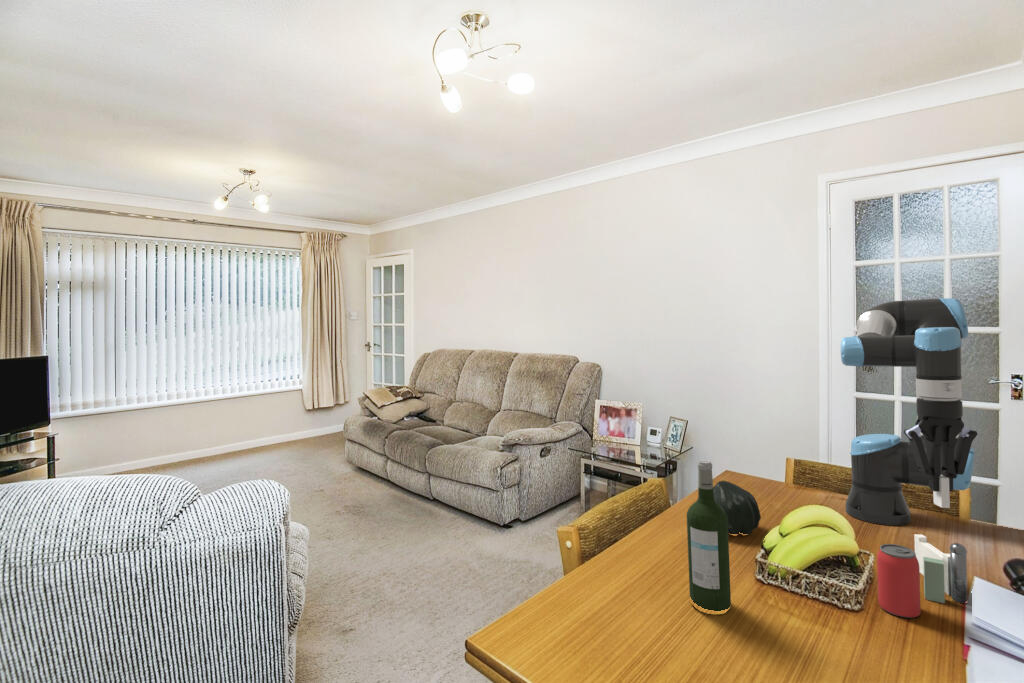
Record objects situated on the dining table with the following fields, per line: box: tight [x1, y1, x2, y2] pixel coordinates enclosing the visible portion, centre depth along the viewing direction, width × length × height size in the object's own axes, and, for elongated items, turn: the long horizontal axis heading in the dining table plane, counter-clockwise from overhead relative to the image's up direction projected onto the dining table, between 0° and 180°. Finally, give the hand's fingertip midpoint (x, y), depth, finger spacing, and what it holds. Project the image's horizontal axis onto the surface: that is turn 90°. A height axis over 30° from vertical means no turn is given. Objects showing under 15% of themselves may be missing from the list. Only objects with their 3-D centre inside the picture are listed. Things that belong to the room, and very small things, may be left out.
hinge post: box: [949, 542, 968, 605], centre depth 98 cm, size 3×3×12 cm
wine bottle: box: [686, 459, 732, 611], centre depth 100 cm, size 8×8×30 cm
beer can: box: [876, 543, 922, 619], centre depth 96 cm, size 7×7×12 cm
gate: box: [913, 533, 951, 596], centre depth 105 cm, size 11×2×8 cm, turn 169°
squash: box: [713, 480, 762, 535], centre depth 135 cm, size 14×15×15 cm
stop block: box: [923, 557, 946, 604], centre depth 99 cm, size 2×3×8 cm, turn 54°
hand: (941, 505), depth 106 cm, fingers closed
